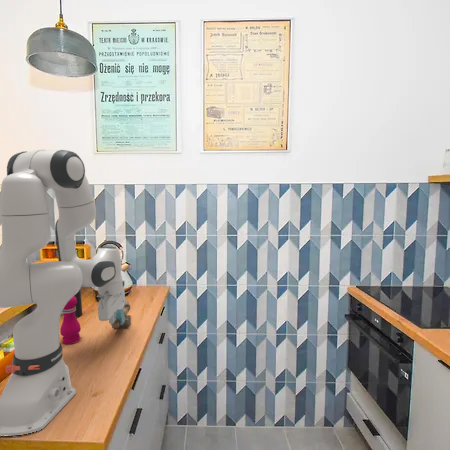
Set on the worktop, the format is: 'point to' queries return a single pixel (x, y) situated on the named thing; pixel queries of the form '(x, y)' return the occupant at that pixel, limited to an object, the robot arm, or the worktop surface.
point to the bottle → (78, 304)
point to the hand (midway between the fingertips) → (112, 322)
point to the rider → (120, 316)
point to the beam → (127, 318)
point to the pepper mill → (70, 323)
